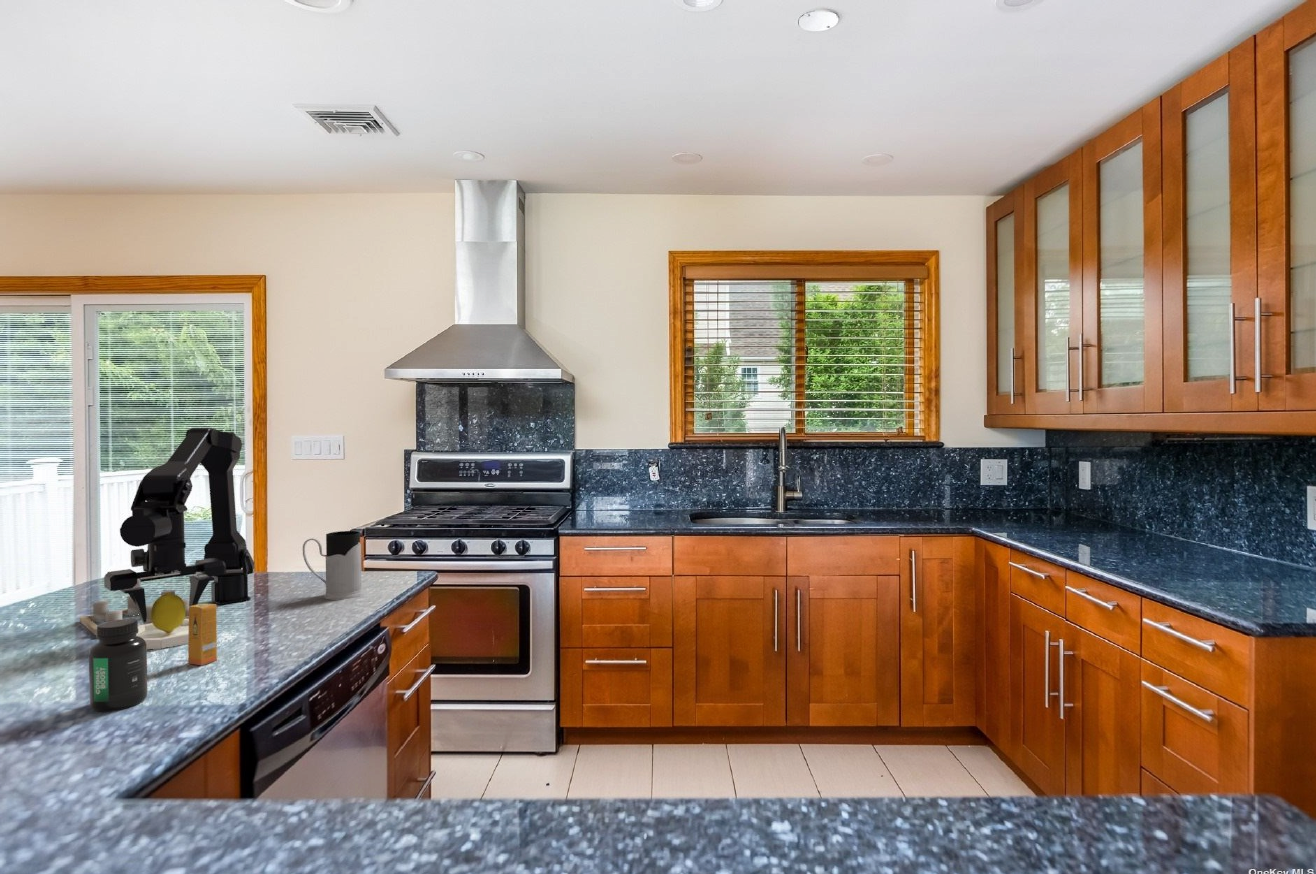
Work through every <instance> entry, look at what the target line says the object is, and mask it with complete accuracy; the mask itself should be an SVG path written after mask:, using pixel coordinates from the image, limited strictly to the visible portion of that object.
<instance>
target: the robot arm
mask: <svg viewBox="0 0 1316 874" xmlns="http://www.w3.org/2000/svg"><path fill="white" fill-rule="evenodd" d="M242 443H243V442H242V440H241V437H239V436H237V434H236V433H235V432H227V431H222V430H218V429H216V428H212V427H191V428H188V429H187V430H186V433H185V437H184V439H183V440H182V441H181V442H180V443H179V446H177V448H176V449H175V451H174V452H173V453H172V455H171V456H170V457H169V458H168V460H166V462H165V463H164V464H161V465H159V466H156V467H153V468H151V470H149V472H147V473H146V474H145V475H144V476H143V478H142V479H141V481H140V482H139V484H138V487H137V489H136V493H135V496H134V497H133V498H134V499H133V500H132V503H131V507H130V510H131V511H132V512H131V515H130V516H128V517H127V518H126V519H125V520H124V521H123V522H122V524H121V526H120V528H119V534H120V537H121V540H123V541H124V543H125V544H128V545H129V546H131V547H143V546H147V549H146V551H145V549H144V548H138V549H137V548H136V549H132V550H131V551H130V566H131V567H132V568H138V567H142V569H143V571H139V572H136V571H135V570H132V569H131V568H127V569H120V570H112V571H108V572H107V573H105V575H104V577H103V584H104V585H103V586H104V588H105V589H107V590H109V591H110V592H116V591H119V592H121V593H123V594H125V595H126V594H127V595H129V596H130V597H131V598H132V600H133V602H134V604H135V606H136V608H137V610H138V613H139V615H138V616H139V617H140V619H141V621H142V623H143V622H146V619H147V611H146V606H147V602H146V593H145V588H144V587H142V585H141V583H144V582H151V581H157V580H158V581H159V580H164V579H169V578H176V577H184V576H185V577H186V576H188V578H189V586H190V587H189V598H188V599H189V606H193V605H197V604H199V601H200V599H201V597H202V595H203V592H204V591H205V590H206V588H207V587H208V584H209V583H210V582H211V581H212V582H211V583H210V587H211V588H210V589H211V590H210V592H211V594H210V595H211V597H210V598H211V599H210V600H211V601H212V602H213V603H215V604H217V605H227V604H233V603H239V602H243V601H248V600H249V601H250V600H252V599H251V597H252V596H251V597H250V596H249V583H248V580H249V579H248V578H249V577H248V576H249V575H251V574H254V573H255V570H254V569H255V561H254V559H253V557H252V555H251V554H250V551H249V549H248V548H247V542H246V539H245V538H244V536H242V535H241V533H240V532H239V531H238V529H237V528H238V527H237V513H236V500H235V484H234V483H235V482H234V468H235V467H236V465H237V463H238V462H239V460H240V459H241V451H242V447H243V444H242ZM199 465H201V466H202V467H203V468H204V469H205V471H206V472H207V474H208V475H207V476H208V484H209V499H210V511H211V513H210V514H211V526H212V527H211V528H212V529H211V530H212V536H210V539H209V540H208V541H207V543H206V544H204V547H203V550H204V555H203V559H196V560H195V562H194V564H191V565H187V563H186V552H185V549H186V547H187V545H186V543H187V542H186V541H185V512H186V511H187V510H188V507H187V506H186V503H187V501H188V499H189V496H190V495H191V492H192V490H193V483H192V480H191V477H192V476H193V474H194V472H195V471H196V470H197V468H198V466H199Z"/></svg>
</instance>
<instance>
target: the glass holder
mask: <svg viewBox="0 0 1316 874" xmlns="http://www.w3.org/2000/svg"><path fill="white" fill-rule="evenodd" d="M309 541H314V542H316V543H317V544H318V545H317V546H318V547H319V554H320V556H322V557H324V558H325V578H324V577H323V576H321V575H320V574H318V573H317V572H316V571H315V570H314V569H313V568H312V566H311V565H310V563H309V561H308V559H307V555H306V545H307V542H309ZM325 541H326V542H325V545H326V547H325V548H326V549H325V550H326V551H325V552H326V553H325V554H324V553H323V547H322V543H321V542H320V541H319V540H318V539H317V538H315V537H313V538H308V539H306V540H305V541H304V542H303V544H302V557H303V560H304V562H305V565H306V566H307V568H308V569H309V571H310V572H311V573H312V574H313V575H315V577H317V578H319V580H321V581H322V582H323V583H324V584H325V593H324V595H323V598H324V599H326V600H327V599H328V600H333V601H334V600H337V601H338V600H348V599H355V598H358V597H361V596H363V595H364V590H363V588H362V544H361V532H360V531H357V530H355V531H354V530H343V531H341V530H340V531H333V532H329V533H326V534H325Z"/></svg>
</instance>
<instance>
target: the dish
mask: <svg viewBox="0 0 1316 874" xmlns="http://www.w3.org/2000/svg"><path fill="white" fill-rule="evenodd" d="M141 625H142V624H141ZM136 636H138V637H141V638H143V639H144V640H145V642H146V646H147V649H153V650H162V649H161V648H165V647H170V648H174V647H173V646H175V647H178V646H177V645H179V646H183V645H184V646H185V645H188V637H189V619H184V621H183V622H182V624H181V625H180V626H179V627H177V628H176V629H174V630H173V631H172V632H171V633H169V634H167V633H166V632H164V631H162V630H159V629H157V628H156V627H155V626H154V625H153V623H151V624H146V625H142V626H138V633H137V634H136ZM165 649H166V648H165Z"/></svg>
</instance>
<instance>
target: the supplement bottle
mask: <svg viewBox="0 0 1316 874" xmlns="http://www.w3.org/2000/svg"><path fill="white" fill-rule="evenodd" d="M138 625H139V624H138V620H137V619H134V618H122V619H121V620H114V621H109V622H101V623H100V624H98V625H97V636H96V640H97V642H96V643H95V644H93V645H92V646H91V647H90V649H89V651H88V678H89V679H88V683H89V686H88V688H89V707H90V708H91V709H92V710H93V711H94V712H101V713H102V712H115V711H120V710H124V709H125V710H126V709H129V708H131V707H135V706H137V705H139V704H141V703H142V702H144V701H145V700H146V699H147V697H148V655H147V654H148V653H147V652H148V650H147V646H146V642H145V640H144V639H143V638H141V637H138V636H136V634H137V633H138Z"/></svg>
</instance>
